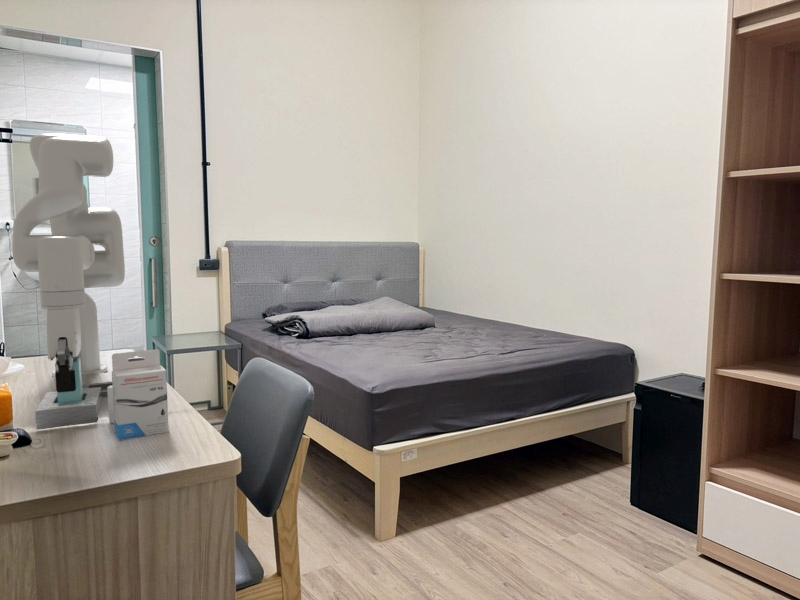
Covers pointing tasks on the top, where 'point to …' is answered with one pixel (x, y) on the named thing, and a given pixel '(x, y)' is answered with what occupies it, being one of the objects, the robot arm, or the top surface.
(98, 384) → the grey square socket
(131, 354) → the ink box
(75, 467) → the top surface
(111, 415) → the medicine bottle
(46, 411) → the port
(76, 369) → the plug
